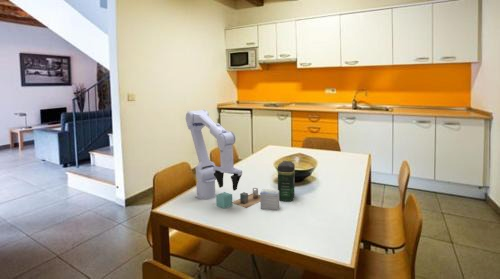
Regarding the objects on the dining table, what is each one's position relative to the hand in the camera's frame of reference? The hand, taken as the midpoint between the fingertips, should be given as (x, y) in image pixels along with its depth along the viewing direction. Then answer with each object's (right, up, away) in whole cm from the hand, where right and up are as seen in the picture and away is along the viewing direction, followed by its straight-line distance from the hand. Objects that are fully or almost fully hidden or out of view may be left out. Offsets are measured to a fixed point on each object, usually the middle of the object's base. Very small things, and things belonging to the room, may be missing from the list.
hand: (228, 188), depth 136 cm
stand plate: (+10, -8, +8) cm, 15 cm away
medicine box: (+19, -9, -1) cm, 21 cm away
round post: (+13, -6, +11) cm, 18 cm away
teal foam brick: (-2, -9, +3) cm, 10 cm away
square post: (+7, -8, +5) cm, 12 cm away
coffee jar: (+28, -7, +10) cm, 30 cm away
